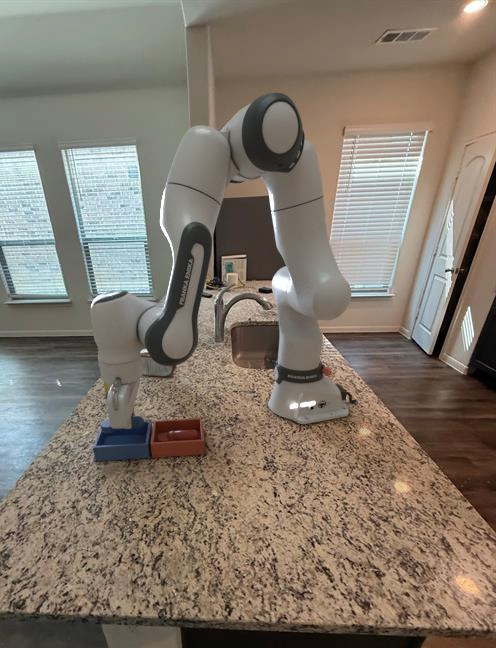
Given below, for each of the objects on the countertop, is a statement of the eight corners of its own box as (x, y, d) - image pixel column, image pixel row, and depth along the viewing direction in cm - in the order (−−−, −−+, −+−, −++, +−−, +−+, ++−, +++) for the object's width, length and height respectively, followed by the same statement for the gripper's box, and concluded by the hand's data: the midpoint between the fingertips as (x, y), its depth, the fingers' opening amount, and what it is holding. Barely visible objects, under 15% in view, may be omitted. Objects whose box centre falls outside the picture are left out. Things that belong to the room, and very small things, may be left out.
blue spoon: (145, 423, 77) (144, 412, 75) (144, 431, 73) (142, 421, 72) (103, 425, 76) (101, 414, 75) (99, 434, 73) (97, 423, 71)
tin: (177, 374, 113) (175, 353, 109) (175, 378, 110) (173, 356, 106) (138, 372, 115) (135, 351, 112) (134, 376, 113) (131, 354, 109)
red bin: (202, 430, 83) (201, 417, 81) (204, 454, 74) (204, 440, 72) (155, 433, 82) (153, 420, 80) (152, 457, 73) (150, 444, 71)
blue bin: (152, 433, 82) (151, 420, 80) (149, 457, 73) (147, 444, 71) (104, 436, 81) (102, 423, 79) (95, 461, 73) (92, 447, 71)
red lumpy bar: (199, 436, 80) (198, 426, 78) (199, 444, 76) (199, 435, 75) (158, 438, 79) (157, 428, 78) (157, 447, 76) (156, 437, 74)
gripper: (129, 390, 59) (137, 449, 65) (141, 351, 77) (147, 399, 83) (94, 392, 58) (106, 450, 65) (115, 352, 76) (123, 401, 83)
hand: (129, 421), depth 74 cm, fingers closed on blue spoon, 3 cm apart
